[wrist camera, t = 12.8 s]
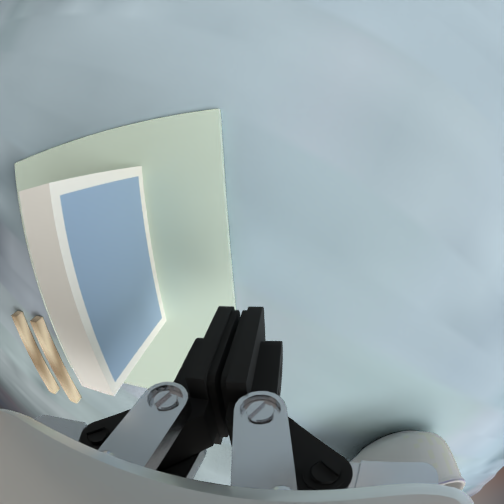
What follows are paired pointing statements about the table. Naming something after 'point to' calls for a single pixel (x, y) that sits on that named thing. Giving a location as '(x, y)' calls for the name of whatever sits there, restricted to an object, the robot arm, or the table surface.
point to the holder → (49, 352)
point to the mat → (163, 220)
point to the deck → (96, 271)
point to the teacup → (416, 454)
